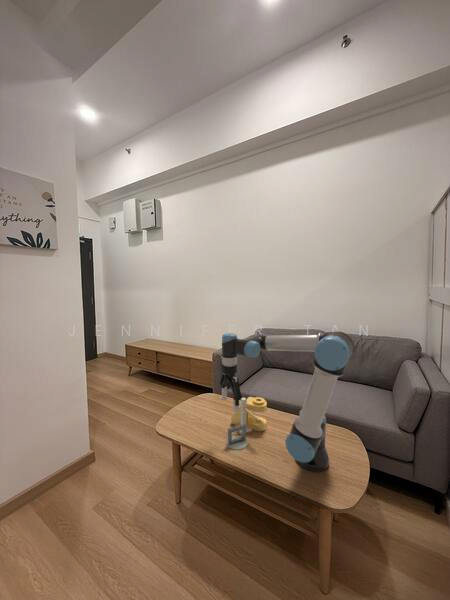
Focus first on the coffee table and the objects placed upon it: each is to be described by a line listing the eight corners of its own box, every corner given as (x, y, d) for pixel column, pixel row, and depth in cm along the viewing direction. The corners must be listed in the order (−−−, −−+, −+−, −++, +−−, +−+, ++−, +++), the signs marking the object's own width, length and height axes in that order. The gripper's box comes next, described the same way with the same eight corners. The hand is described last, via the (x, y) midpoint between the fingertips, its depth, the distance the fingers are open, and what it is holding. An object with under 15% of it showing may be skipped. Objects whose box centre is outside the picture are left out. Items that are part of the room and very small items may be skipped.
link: (245, 440, 130) (246, 425, 129) (229, 445, 126) (229, 430, 125) (244, 438, 131) (244, 424, 131) (227, 443, 127) (227, 428, 126)
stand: (264, 444, 127) (264, 410, 126) (253, 447, 124) (253, 413, 123) (245, 424, 145) (245, 395, 144) (235, 427, 142) (235, 397, 141)
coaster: (251, 446, 126) (251, 445, 126) (232, 452, 121) (232, 451, 121) (241, 434, 136) (241, 433, 136) (223, 439, 131) (223, 438, 131)
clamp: (268, 424, 145) (268, 398, 144) (263, 433, 136) (263, 405, 135) (237, 416, 154) (237, 391, 153) (231, 423, 146) (231, 397, 145)
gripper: (248, 370, 114) (249, 415, 115) (225, 356, 137) (226, 394, 138) (234, 373, 111) (234, 418, 112) (213, 358, 134) (213, 396, 135)
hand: (230, 405), depth 125 cm, fingers open, 13 cm apart
